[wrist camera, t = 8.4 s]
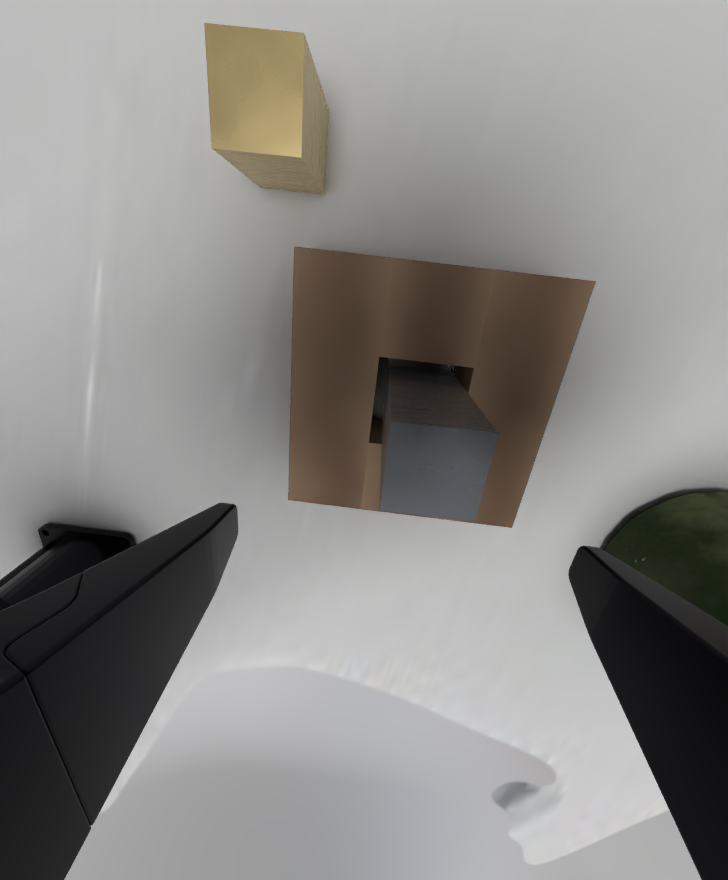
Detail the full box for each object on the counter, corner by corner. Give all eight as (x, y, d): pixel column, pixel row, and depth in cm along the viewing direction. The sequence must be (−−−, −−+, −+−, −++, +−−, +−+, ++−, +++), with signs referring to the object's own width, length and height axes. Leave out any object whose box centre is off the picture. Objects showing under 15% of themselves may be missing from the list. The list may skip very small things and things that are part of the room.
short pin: (260, 187, 16) (212, 148, 12) (259, 103, 15) (204, 23, 10) (325, 194, 16) (301, 157, 12) (329, 110, 15) (304, 33, 10)
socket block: (302, 469, 22) (288, 499, 19) (311, 254, 17) (294, 246, 14) (493, 492, 22) (511, 527, 19) (556, 282, 17) (595, 281, 14)
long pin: (382, 408, 20) (379, 510, 11) (388, 356, 19) (391, 421, 10) (434, 414, 20) (474, 521, 11) (444, 362, 19) (498, 433, 10)
